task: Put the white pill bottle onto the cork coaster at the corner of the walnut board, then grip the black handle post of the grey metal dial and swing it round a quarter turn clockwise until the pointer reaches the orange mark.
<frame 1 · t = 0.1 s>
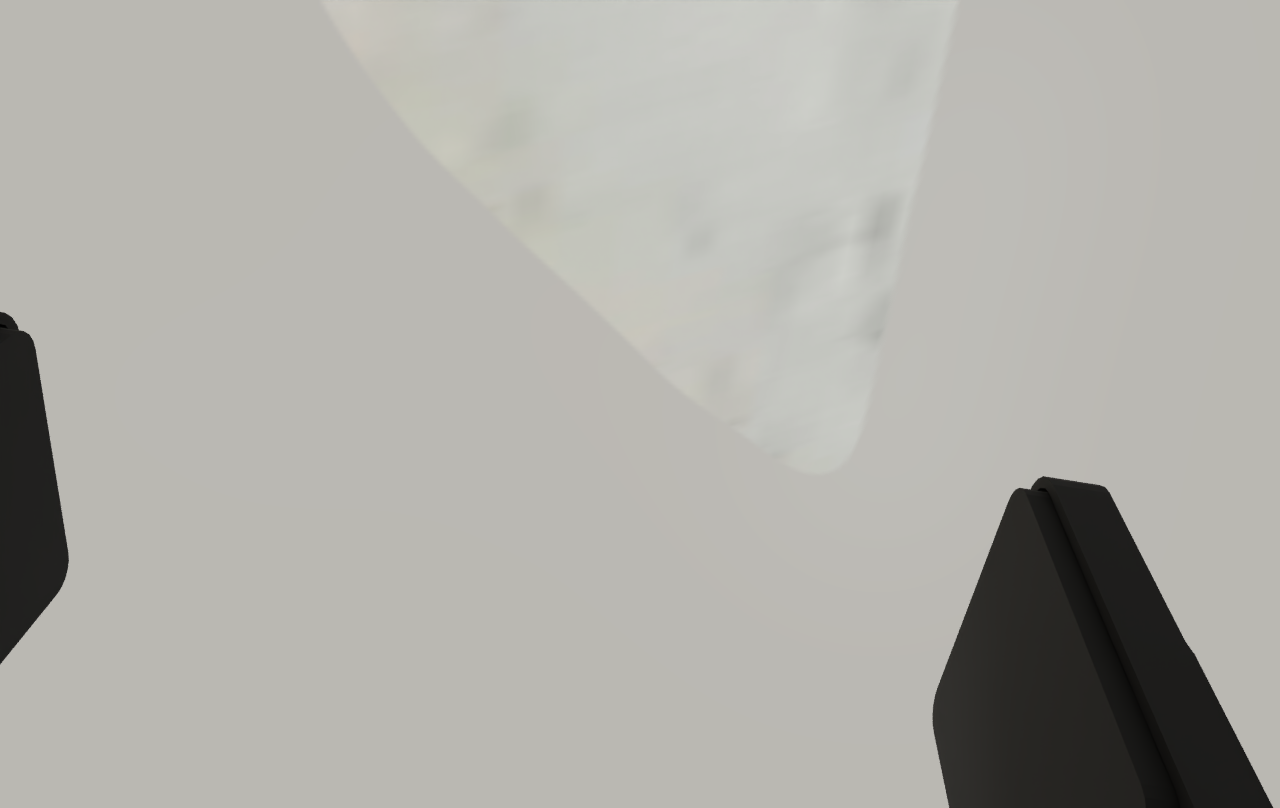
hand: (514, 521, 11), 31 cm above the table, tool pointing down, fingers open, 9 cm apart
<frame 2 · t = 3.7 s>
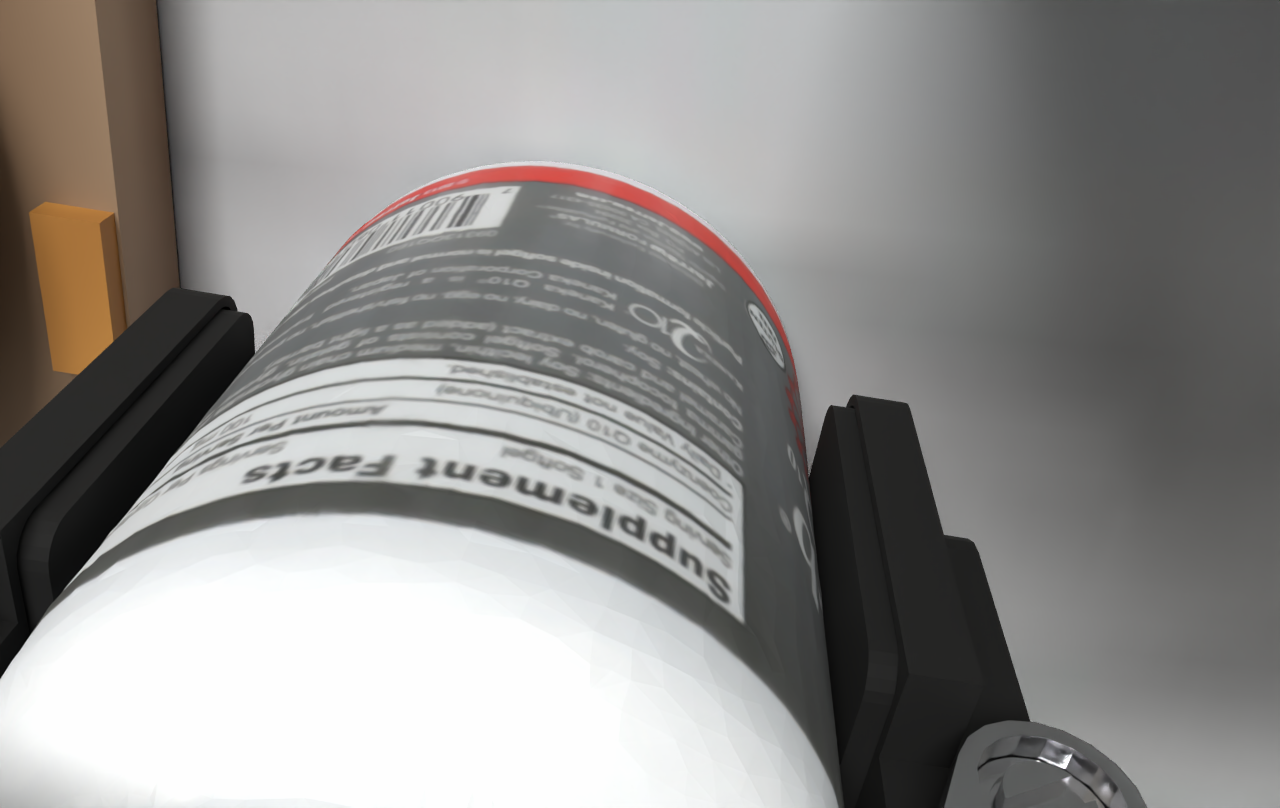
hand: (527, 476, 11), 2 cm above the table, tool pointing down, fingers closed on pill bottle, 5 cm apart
pill bottle: (558, 371, 13), on the table, touching gripper
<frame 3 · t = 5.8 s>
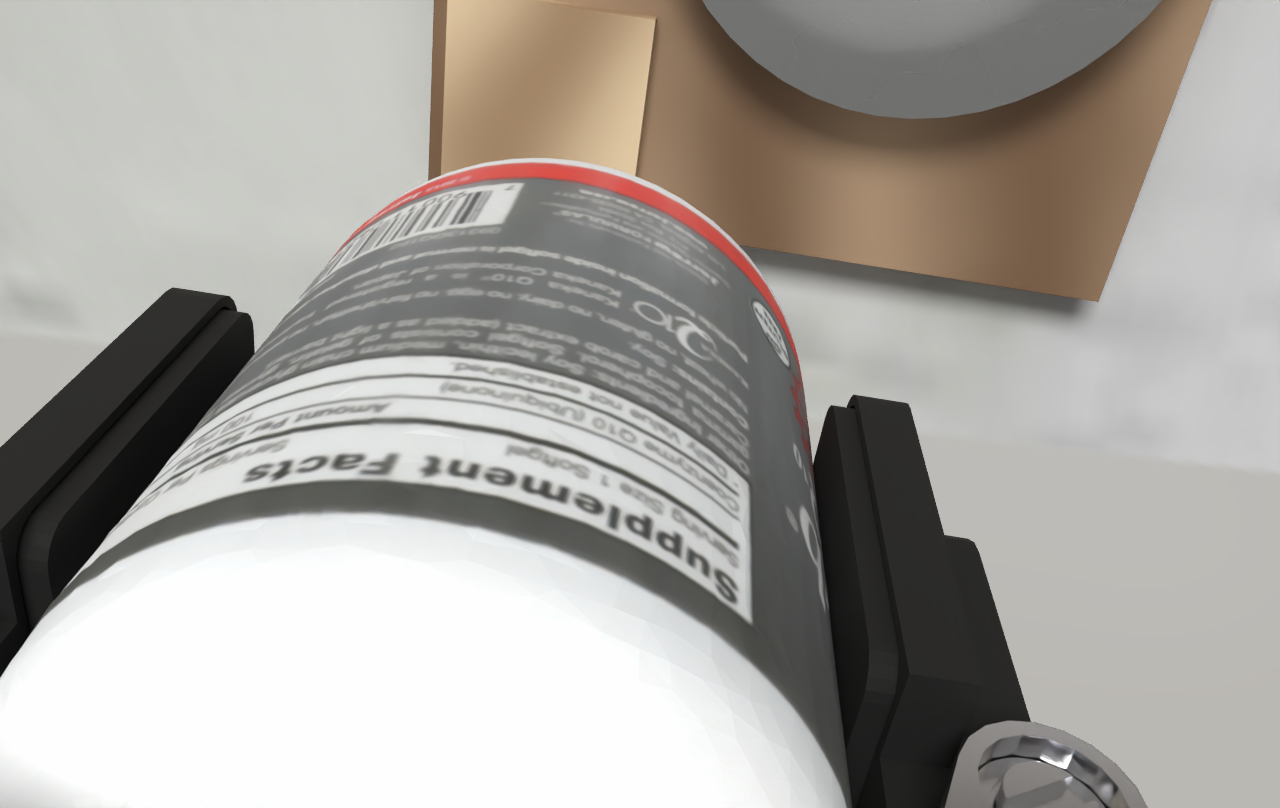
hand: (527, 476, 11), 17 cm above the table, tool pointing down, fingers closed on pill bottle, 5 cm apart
pill bottle: (560, 369, 13), point 15 cm above the table, touching gripper
when the fingers open (5 cm above the table, at t = 8.2 s): pill bottle drops 2 cm, resting on dial board.
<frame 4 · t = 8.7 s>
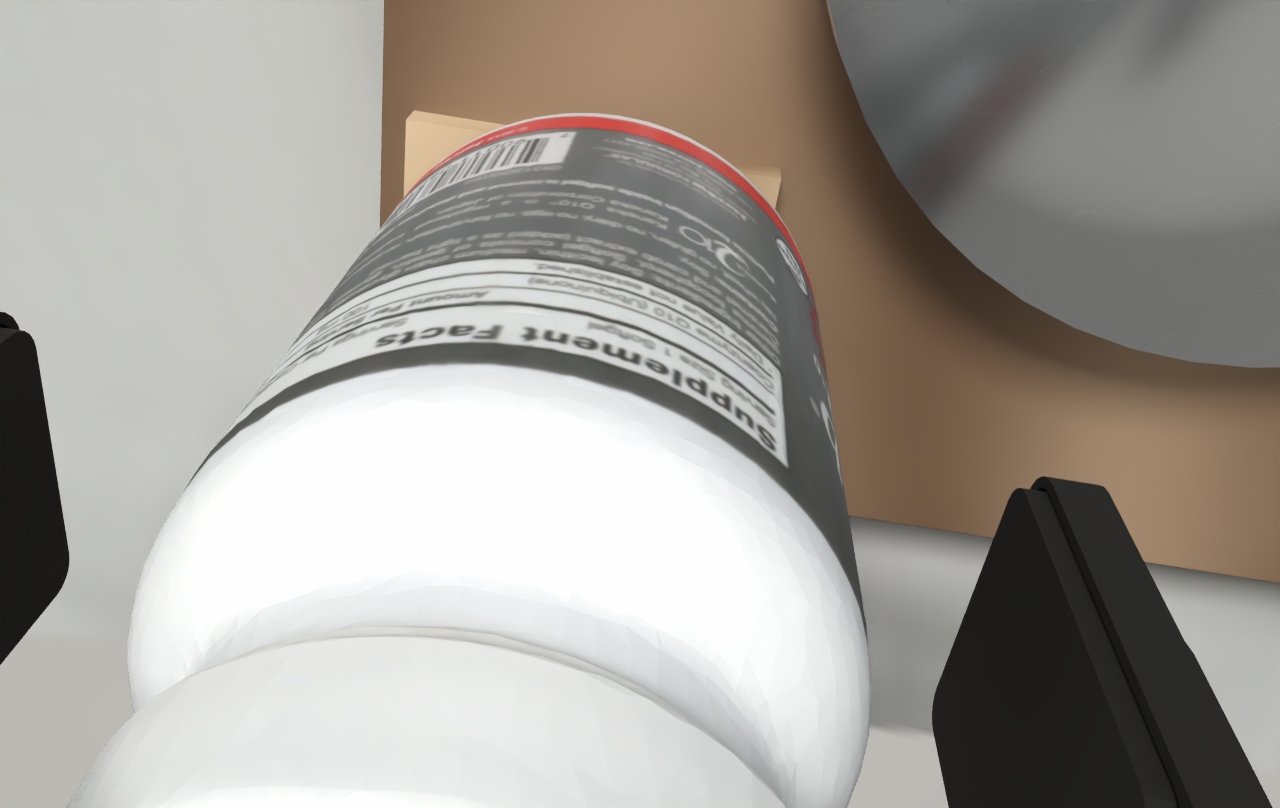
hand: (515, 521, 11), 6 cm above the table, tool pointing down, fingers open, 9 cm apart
pill bottle: (597, 309, 15), point 1 cm above the table, touching dial board
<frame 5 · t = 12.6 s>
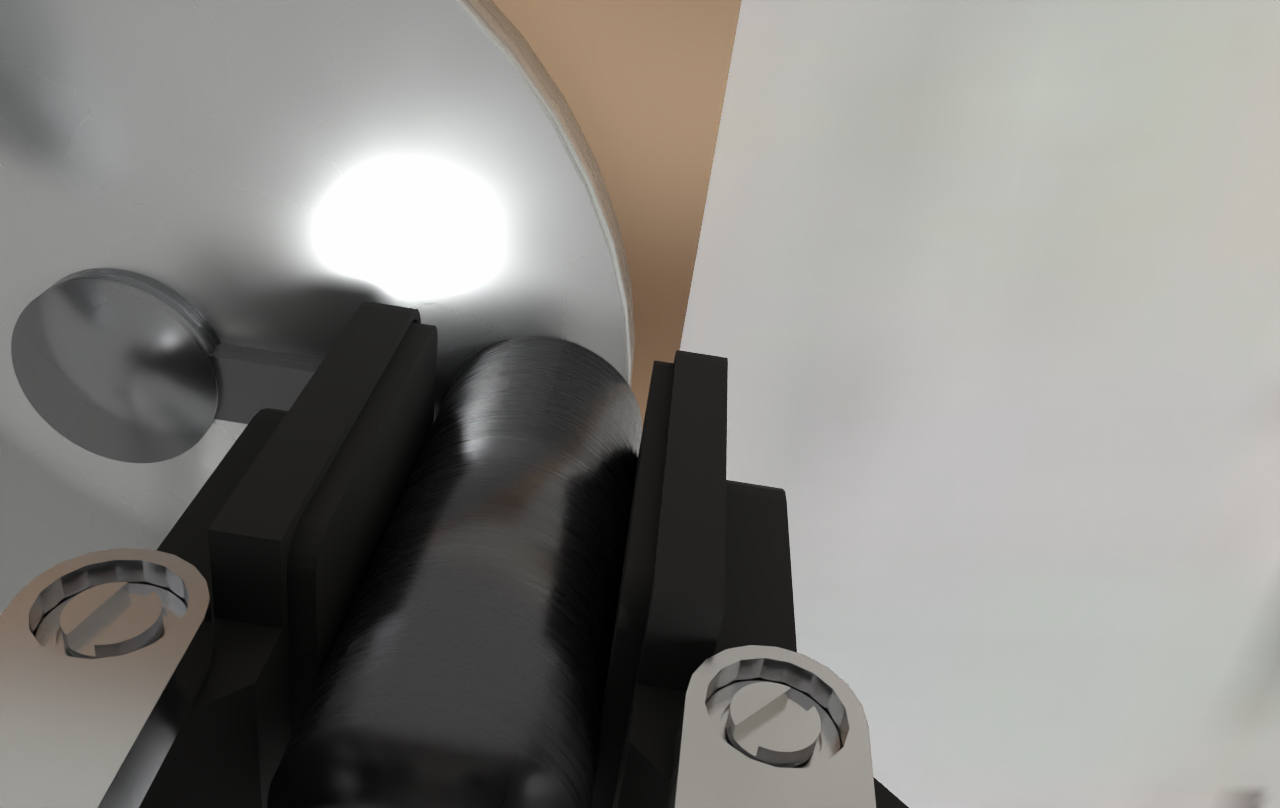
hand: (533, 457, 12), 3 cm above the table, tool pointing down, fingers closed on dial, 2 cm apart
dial: (31, 472, 10), point 5 cm above the table, hinge at 0.0°, touching gripper
dial board: (83, 109, 14), on the table
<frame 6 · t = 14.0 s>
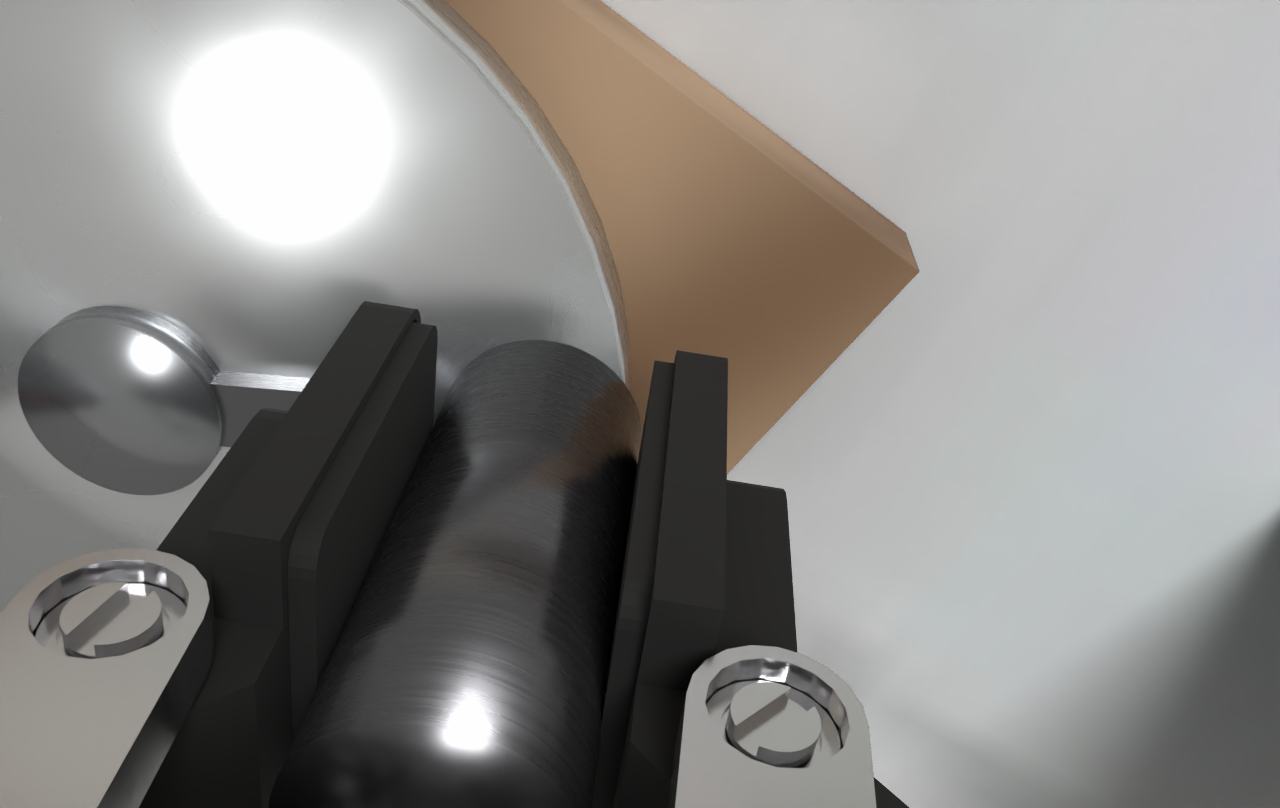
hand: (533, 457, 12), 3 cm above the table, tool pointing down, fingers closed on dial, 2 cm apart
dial: (38, 510, 11), point 5 cm above the table, hinge at -57.4°, touching gripper
dial board: (64, 311, 15), on the table
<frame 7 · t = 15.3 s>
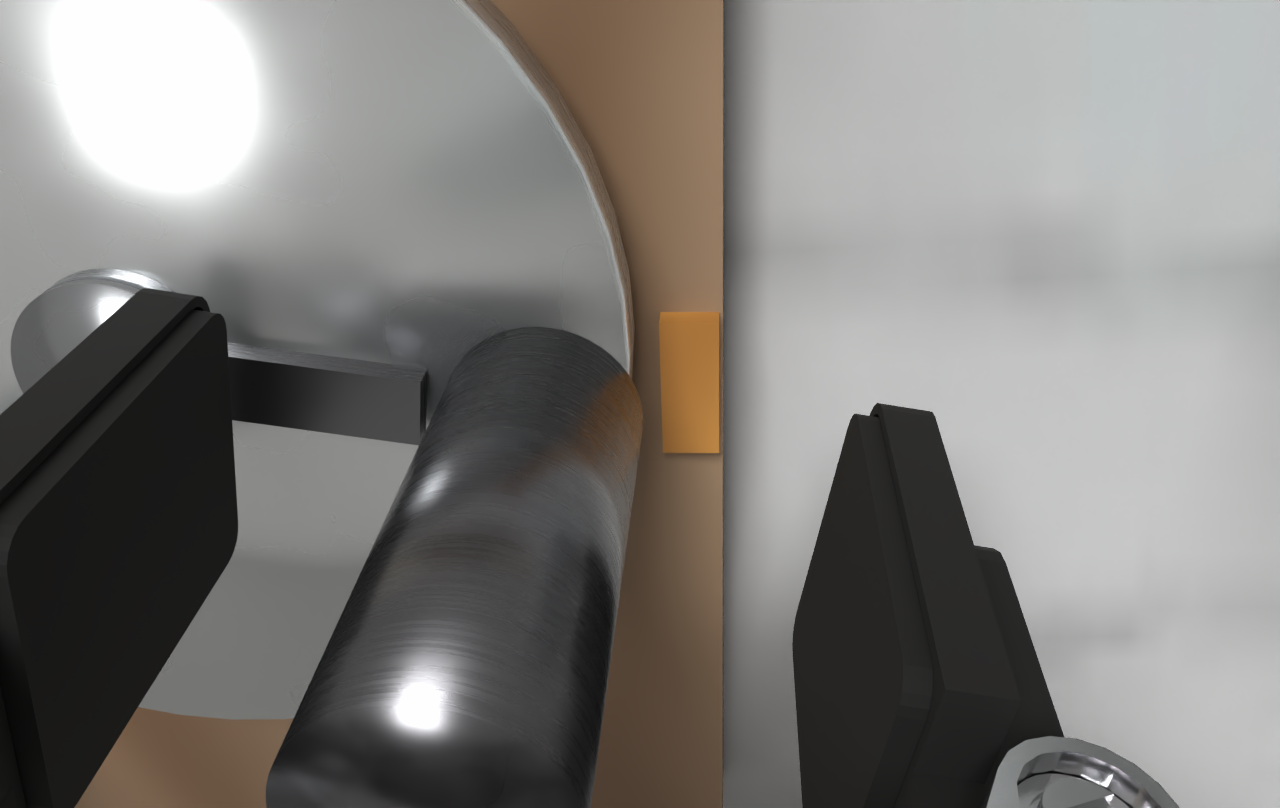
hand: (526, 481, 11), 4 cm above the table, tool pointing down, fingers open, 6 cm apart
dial: (30, 472, 10), point 5 cm above the table, hinge at -98.6°
dial board: (138, 376, 16), on the table
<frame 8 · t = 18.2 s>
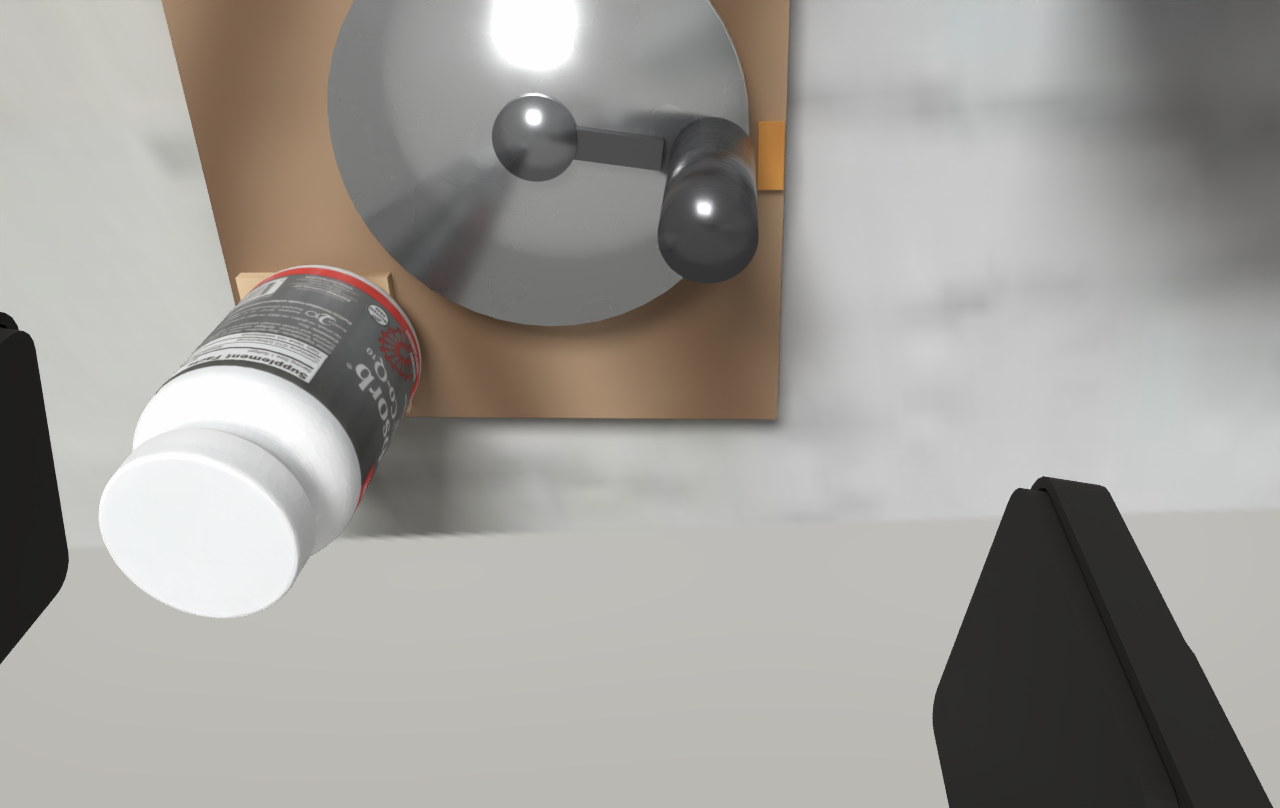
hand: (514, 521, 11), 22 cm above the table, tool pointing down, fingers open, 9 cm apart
pill bottle: (335, 341, 34), point 1 cm above the table, touching dial board
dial: (526, 163, 27), point 5 cm above the table, hinge at -98.6°
dial board: (496, 167, 32), on the table
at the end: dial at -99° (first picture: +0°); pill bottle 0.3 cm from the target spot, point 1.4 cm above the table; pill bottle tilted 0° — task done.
